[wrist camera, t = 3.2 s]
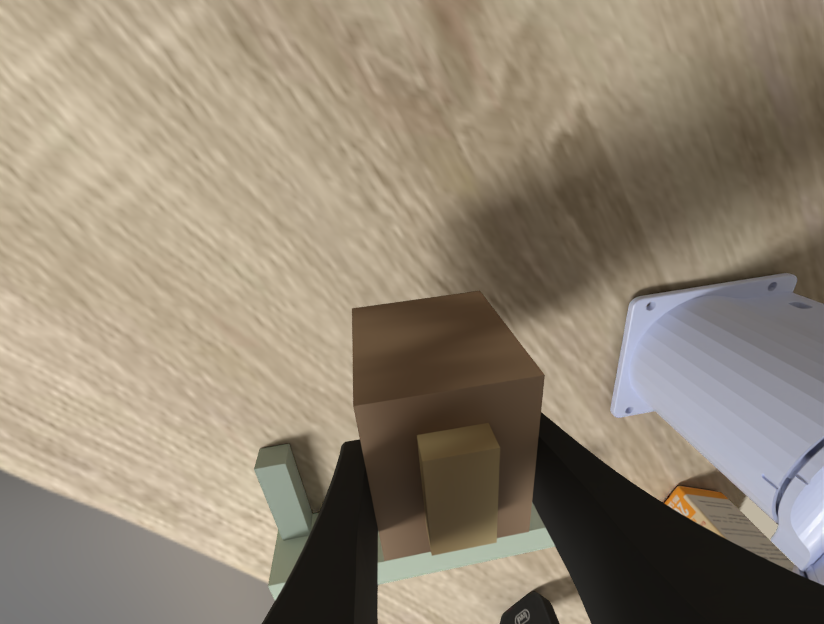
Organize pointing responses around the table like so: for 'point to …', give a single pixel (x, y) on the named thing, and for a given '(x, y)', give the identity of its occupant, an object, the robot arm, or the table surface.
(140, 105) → the table surface
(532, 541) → the green l-shaped block
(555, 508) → the robot arm
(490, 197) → the table surface
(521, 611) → the remote control
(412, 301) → the brown block
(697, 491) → the supplement box
